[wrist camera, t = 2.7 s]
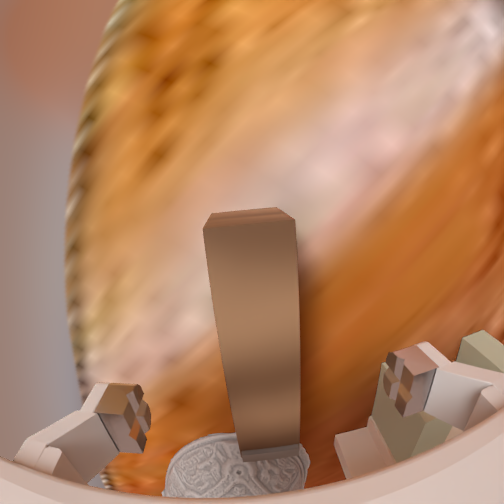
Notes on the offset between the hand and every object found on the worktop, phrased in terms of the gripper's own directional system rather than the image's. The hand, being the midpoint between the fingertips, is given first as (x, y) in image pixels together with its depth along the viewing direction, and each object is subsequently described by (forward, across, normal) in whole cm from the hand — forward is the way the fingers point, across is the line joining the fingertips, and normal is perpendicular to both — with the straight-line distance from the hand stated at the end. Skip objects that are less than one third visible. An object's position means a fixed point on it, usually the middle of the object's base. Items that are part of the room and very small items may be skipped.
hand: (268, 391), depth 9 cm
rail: (+9, 0, +2) cm, 9 cm away
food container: (+10, +4, +24) cm, 26 cm away
